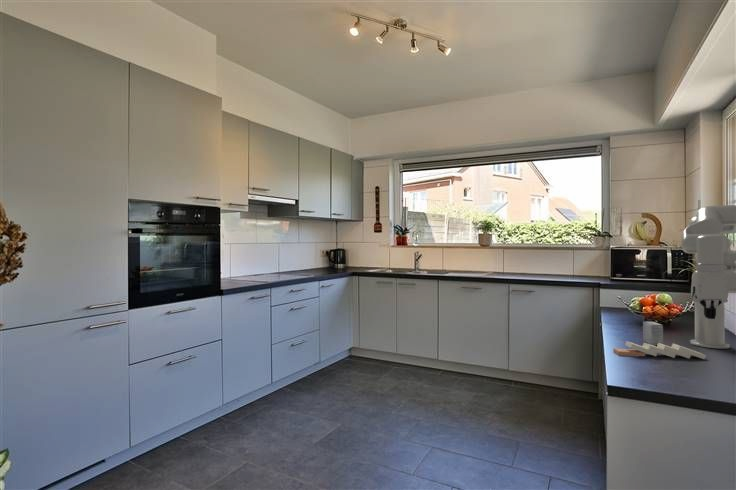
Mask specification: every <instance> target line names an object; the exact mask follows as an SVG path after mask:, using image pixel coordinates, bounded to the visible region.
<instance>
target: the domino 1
mask: <svg viewBox="0 0 736 490" xmlns="http://www.w3.org/2000/svg"><path fill="white" fill-rule="evenodd" d="M612 350H613V353H614V354H615V355H617V356H620V357H621V356H622V357H639V356H645V357H646V353H644V352H641V351H638V350H636V349H633V348H616V347H615V348H613V349H612Z"/></svg>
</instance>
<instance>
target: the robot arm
mask: <svg viewBox="0 0 736 490" xmlns="http://www.w3.org/2000/svg"><path fill="white" fill-rule="evenodd" d="M695 215H696V216H694V217H692V218H691V219H690V221H689V222H688V226H686V228H684V230H683V231H682V234H681V239H680V241H681V242H680V244H681V245H680V246H681V249H682V251H683V252H684V253H686V254H695V255H696V258H695V259H696V270H695V271H693V273H692V275H691V285H690V286H691V287H690V296H691V297H692V302H694V339H690V340H689V342H690V344H691V345H693V346H695V347H696V346H698V347H701V348H707V349H708V348H709V349H718V350H720V349H721V350H723V349H724V350H725V349H726V350H727V349H730V348H731V345H730V344H729V343H727V342H726V341H725V339H726V336H725V335H726V333H725V332H726V331H725V325H726V324H725V320H726V319H725V318H726V317H725V316H726V315H725V312H726V311H725V309H726V308H725V304H726V303H728V301H729V300H728V298H729V294H736V250H729V249H730V243H731V242H730V239H729V237H727V236H726V235H725V234H729V235H730V234H731V235H732V234H736V205H734V204H726V205H709V206H703V207H701V208H700V209H698V210H697V211H696V214H695Z"/></svg>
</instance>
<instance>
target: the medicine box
mask: <svg viewBox="0 0 736 490" xmlns="http://www.w3.org/2000/svg"><path fill="white" fill-rule="evenodd" d="M642 339H643V340H642V341H643V343H647V344H650V345H653V346H656V345H658V343H661V344H664V326H663V324H661V323H658V322H655V321H642Z"/></svg>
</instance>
